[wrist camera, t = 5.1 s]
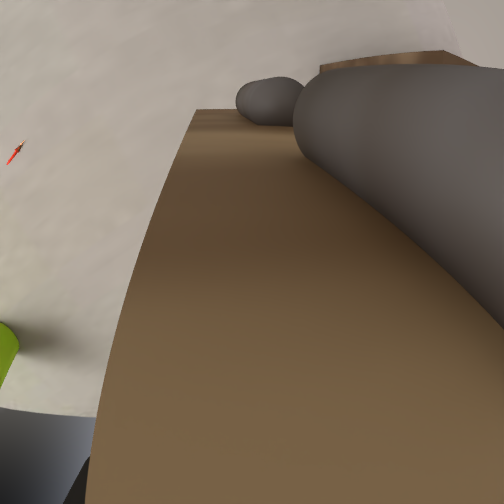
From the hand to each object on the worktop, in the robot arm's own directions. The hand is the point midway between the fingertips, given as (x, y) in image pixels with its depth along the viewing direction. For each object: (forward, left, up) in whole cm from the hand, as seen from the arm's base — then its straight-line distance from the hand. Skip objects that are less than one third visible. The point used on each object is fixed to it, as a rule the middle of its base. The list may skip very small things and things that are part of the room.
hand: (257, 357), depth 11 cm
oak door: (0, 0, -4) cm, 4 cm away
